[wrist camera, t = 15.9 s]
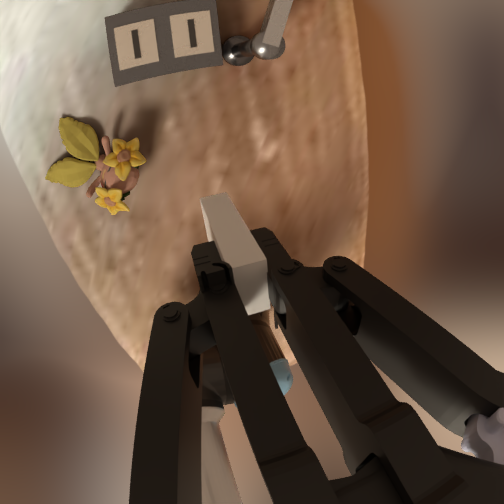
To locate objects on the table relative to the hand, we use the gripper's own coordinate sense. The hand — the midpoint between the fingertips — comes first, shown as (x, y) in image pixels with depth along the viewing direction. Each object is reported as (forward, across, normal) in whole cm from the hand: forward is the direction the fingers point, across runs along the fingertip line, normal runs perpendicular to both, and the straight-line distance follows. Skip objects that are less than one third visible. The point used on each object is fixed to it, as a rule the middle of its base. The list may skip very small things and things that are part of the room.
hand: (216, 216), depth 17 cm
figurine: (+33, -14, -2) cm, 35 cm away
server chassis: (+32, 0, +13) cm, 35 cm away
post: (+32, +11, +10) cm, 36 cm away
